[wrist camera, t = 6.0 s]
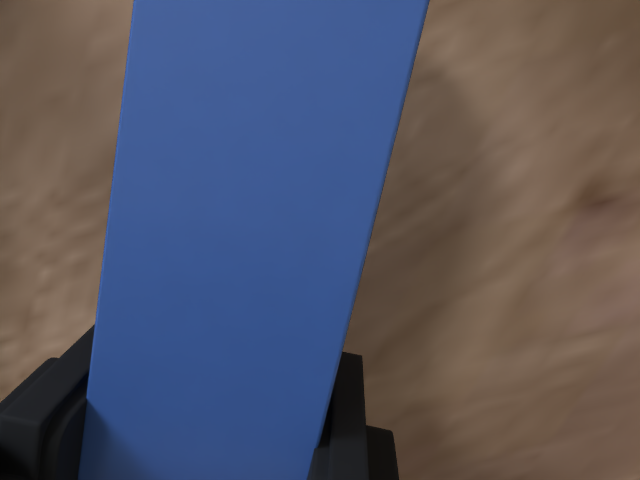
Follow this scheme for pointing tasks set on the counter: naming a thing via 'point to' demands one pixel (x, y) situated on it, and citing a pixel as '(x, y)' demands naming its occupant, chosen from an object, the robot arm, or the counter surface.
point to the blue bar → (239, 230)
